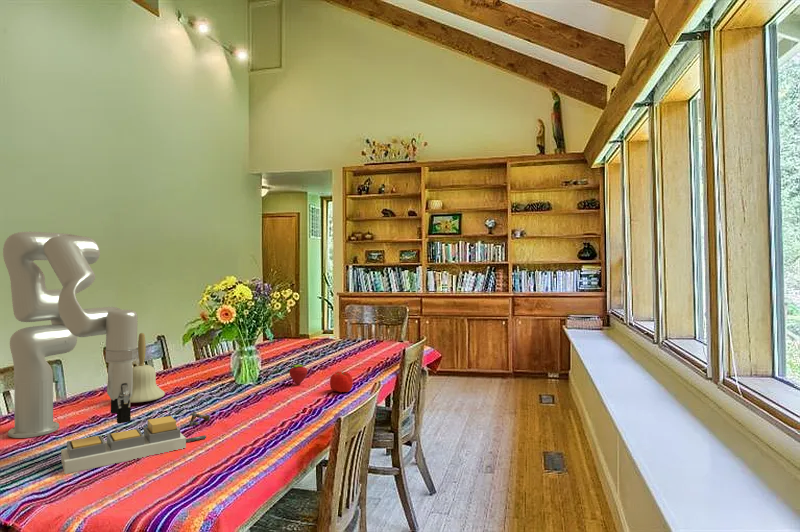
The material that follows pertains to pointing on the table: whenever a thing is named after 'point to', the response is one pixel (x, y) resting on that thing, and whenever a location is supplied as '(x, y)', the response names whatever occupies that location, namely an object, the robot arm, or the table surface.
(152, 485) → the table surface
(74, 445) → the button left
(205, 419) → the wooden post with brackets
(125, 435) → the button middle
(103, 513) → the table surface
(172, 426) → the button right
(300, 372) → the strawberry
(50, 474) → the table surface
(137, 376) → the handbell
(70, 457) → the strip
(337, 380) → the tomato
